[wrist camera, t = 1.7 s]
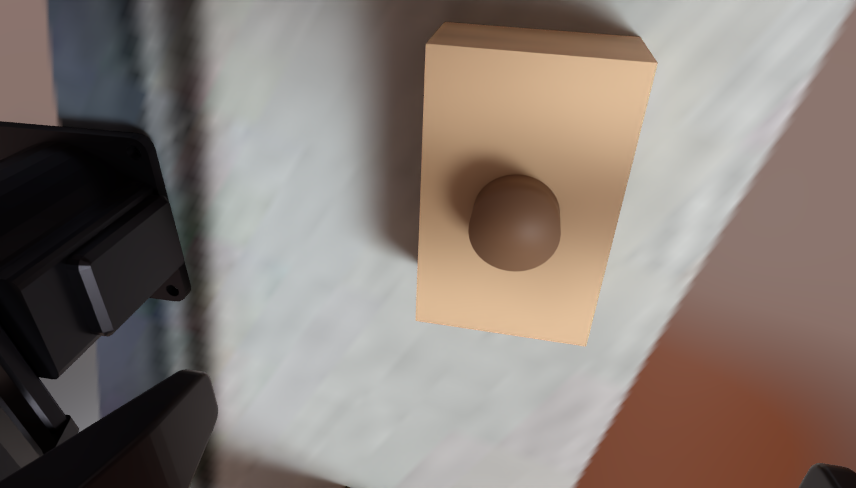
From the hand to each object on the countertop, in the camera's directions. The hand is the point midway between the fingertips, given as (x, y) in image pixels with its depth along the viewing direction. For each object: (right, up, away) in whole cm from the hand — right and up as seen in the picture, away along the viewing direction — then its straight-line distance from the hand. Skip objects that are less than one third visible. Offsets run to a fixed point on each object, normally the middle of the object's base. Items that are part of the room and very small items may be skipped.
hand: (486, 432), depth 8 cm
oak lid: (+2, +5, +8) cm, 10 cm away
